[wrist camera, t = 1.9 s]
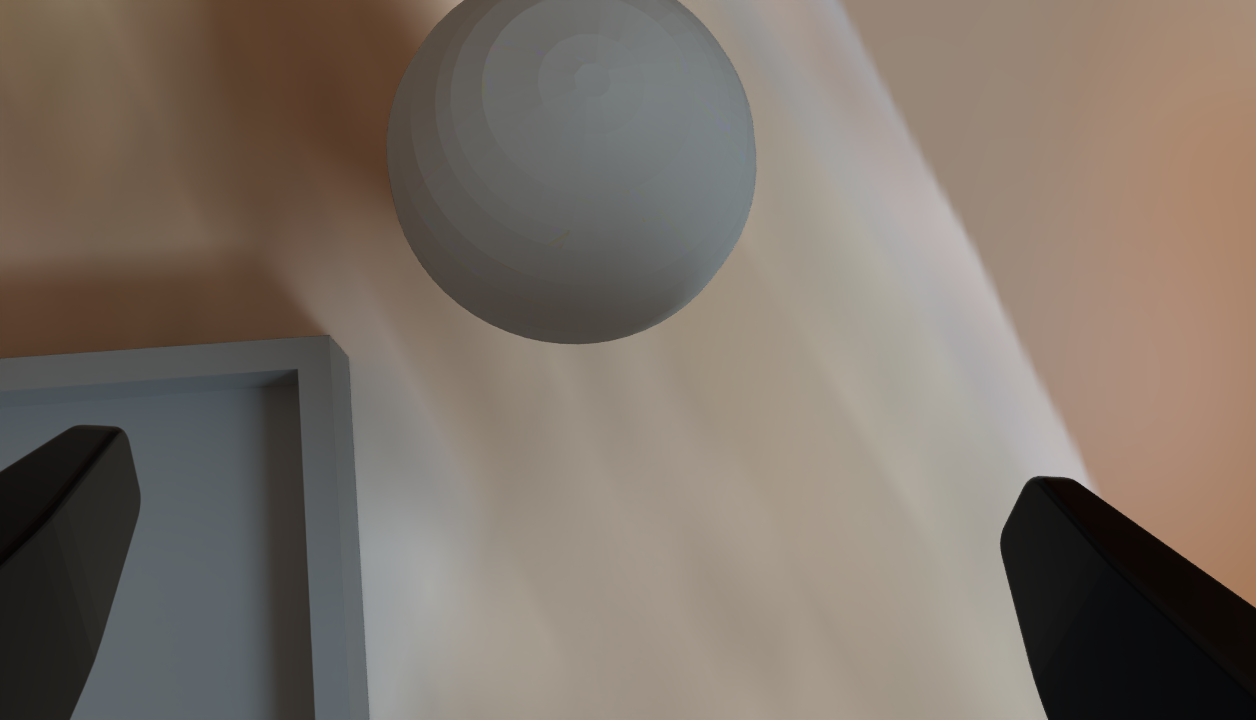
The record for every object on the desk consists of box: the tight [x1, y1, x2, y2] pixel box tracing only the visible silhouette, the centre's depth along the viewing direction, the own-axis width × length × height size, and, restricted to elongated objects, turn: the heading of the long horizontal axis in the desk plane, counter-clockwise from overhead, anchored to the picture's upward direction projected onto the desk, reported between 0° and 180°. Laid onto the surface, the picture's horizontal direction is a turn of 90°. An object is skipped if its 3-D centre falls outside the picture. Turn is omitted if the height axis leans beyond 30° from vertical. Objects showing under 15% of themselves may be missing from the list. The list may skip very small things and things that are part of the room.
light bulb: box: [386, 0, 756, 344], centre depth 17 cm, size 5×6×10 cm
